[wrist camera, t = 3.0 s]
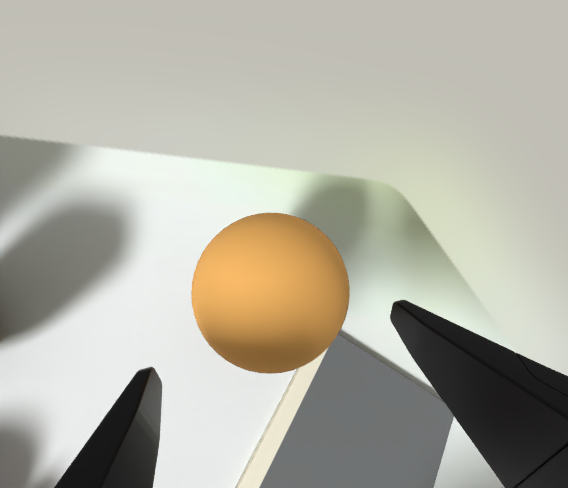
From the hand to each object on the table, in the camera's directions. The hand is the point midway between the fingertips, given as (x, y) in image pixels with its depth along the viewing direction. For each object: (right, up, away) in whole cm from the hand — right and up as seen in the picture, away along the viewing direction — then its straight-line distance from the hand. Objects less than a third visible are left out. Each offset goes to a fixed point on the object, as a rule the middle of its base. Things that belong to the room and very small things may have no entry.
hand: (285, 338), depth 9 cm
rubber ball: (-1, +2, +1) cm, 2 cm away
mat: (+5, -11, +8) cm, 14 cm away
